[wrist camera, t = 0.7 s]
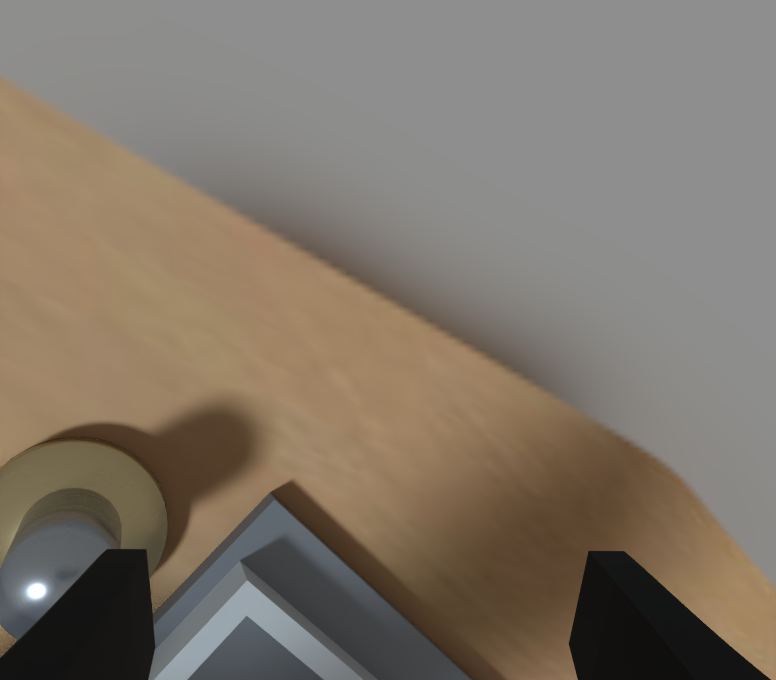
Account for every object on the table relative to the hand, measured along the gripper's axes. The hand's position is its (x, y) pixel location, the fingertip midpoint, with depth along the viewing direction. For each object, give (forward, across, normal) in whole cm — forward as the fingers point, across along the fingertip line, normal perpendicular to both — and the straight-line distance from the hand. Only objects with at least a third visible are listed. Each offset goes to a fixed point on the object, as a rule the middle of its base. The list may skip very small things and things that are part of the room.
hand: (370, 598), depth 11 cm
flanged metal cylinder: (+14, +11, +10) cm, 20 cm away
